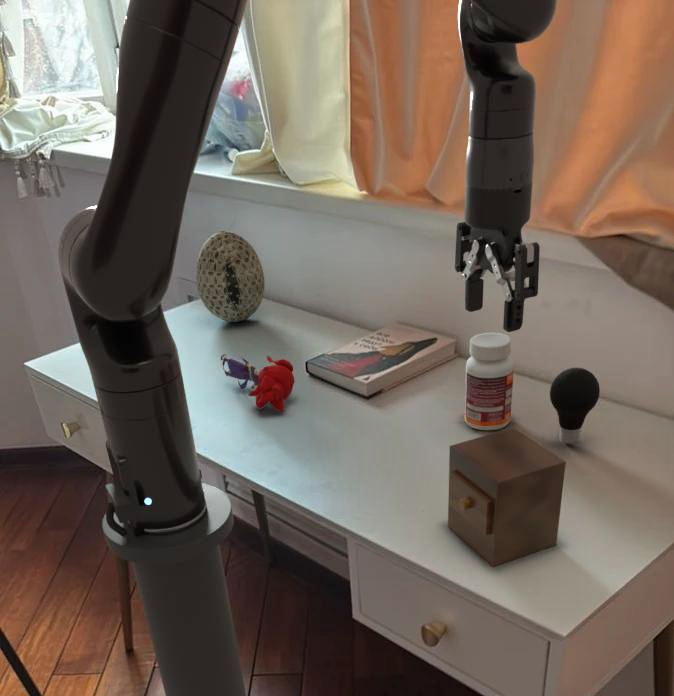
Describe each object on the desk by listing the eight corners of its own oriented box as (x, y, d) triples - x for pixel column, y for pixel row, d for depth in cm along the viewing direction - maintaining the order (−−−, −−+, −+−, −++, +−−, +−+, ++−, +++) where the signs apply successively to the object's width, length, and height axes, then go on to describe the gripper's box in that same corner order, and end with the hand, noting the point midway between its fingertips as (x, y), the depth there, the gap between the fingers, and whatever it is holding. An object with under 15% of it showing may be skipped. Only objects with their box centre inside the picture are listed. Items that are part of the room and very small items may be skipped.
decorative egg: (207, 335, 147) (192, 245, 138) (200, 314, 156) (186, 227, 147) (273, 326, 148) (263, 236, 139) (262, 305, 158) (252, 219, 148)
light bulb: (562, 429, 111) (570, 356, 105) (601, 443, 108) (612, 368, 102) (535, 446, 108) (542, 371, 102) (574, 460, 105) (584, 383, 99)
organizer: (483, 570, 88) (487, 486, 82) (438, 529, 94) (439, 448, 88) (556, 544, 90) (566, 461, 84) (507, 506, 97) (513, 427, 91)
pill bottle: (514, 430, 112) (520, 346, 105) (467, 433, 112) (470, 350, 105) (505, 410, 117) (510, 329, 110) (460, 413, 117) (462, 332, 110)
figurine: (245, 372, 131) (316, 396, 123) (207, 402, 127) (278, 428, 119) (233, 335, 126) (307, 357, 118) (194, 365, 123) (266, 390, 115)
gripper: (437, 173, 100) (437, 310, 110) (507, 195, 90) (499, 344, 100) (491, 163, 102) (486, 298, 112) (565, 183, 92) (552, 330, 102)
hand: (492, 319), depth 106 cm, fingers open, 8 cm apart
